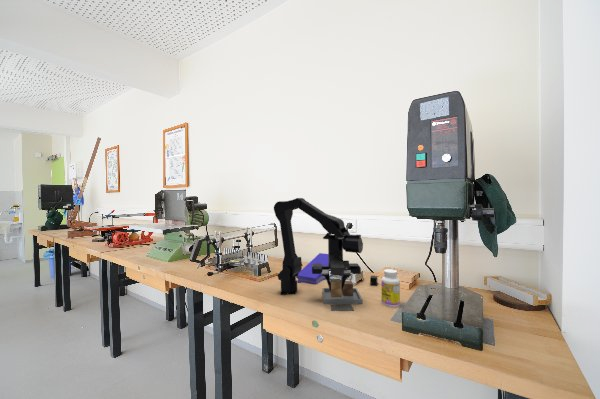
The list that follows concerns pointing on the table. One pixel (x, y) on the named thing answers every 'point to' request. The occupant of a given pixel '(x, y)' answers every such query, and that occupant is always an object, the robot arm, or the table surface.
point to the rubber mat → (341, 308)
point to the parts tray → (342, 298)
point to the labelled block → (336, 287)
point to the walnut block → (348, 289)
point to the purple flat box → (306, 272)
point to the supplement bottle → (390, 288)
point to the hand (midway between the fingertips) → (335, 290)
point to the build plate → (373, 281)
